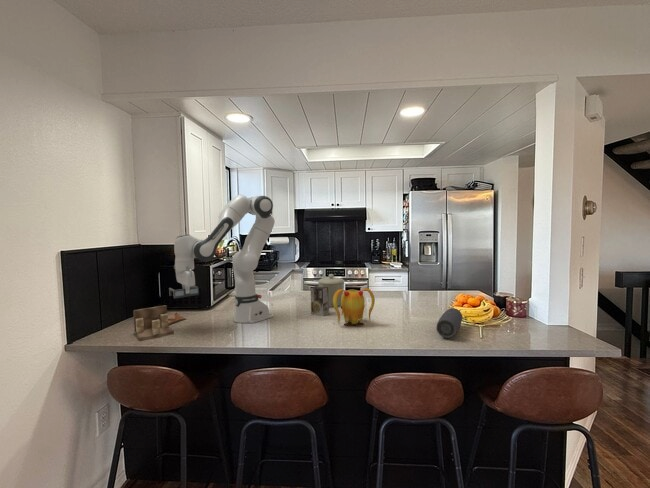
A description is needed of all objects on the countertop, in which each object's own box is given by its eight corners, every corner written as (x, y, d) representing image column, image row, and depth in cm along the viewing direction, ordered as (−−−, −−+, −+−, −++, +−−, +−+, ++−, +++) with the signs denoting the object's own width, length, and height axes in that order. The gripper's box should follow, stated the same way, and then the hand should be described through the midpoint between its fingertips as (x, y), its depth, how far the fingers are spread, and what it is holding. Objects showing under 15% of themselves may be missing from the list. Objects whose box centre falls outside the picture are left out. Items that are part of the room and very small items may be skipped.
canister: (315, 308, 200) (314, 276, 198) (320, 301, 217) (320, 271, 216) (343, 309, 197) (343, 276, 195) (346, 302, 214) (346, 272, 213)
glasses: (193, 291, 172) (192, 284, 172) (199, 294, 165) (198, 287, 164) (169, 295, 165) (168, 288, 165) (174, 298, 157) (174, 290, 157)
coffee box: (329, 313, 188) (328, 286, 187) (323, 316, 183) (322, 288, 182) (316, 311, 193) (316, 285, 192) (310, 314, 188) (310, 287, 187)
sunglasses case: (163, 328, 166) (157, 317, 167) (154, 333, 168) (149, 322, 169) (188, 318, 183) (183, 308, 184) (180, 323, 185) (175, 313, 186)
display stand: (166, 327, 167) (165, 305, 167) (173, 333, 157) (172, 310, 156) (134, 333, 158) (133, 310, 157) (139, 341, 147) (138, 316, 146)
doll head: (369, 318, 176) (369, 284, 175) (376, 327, 161) (376, 289, 160) (331, 320, 174) (330, 285, 173) (334, 328, 159) (333, 291, 158)
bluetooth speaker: (444, 324, 163) (444, 306, 162) (463, 327, 158) (463, 308, 158) (434, 338, 143) (434, 317, 143) (456, 342, 139) (456, 320, 138)
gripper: (197, 267, 154) (199, 295, 155) (185, 264, 170) (187, 289, 171) (184, 268, 150) (185, 297, 151) (173, 265, 166) (174, 291, 167)
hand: (186, 292), depth 161 cm, fingers closed on glasses, 2 cm apart
